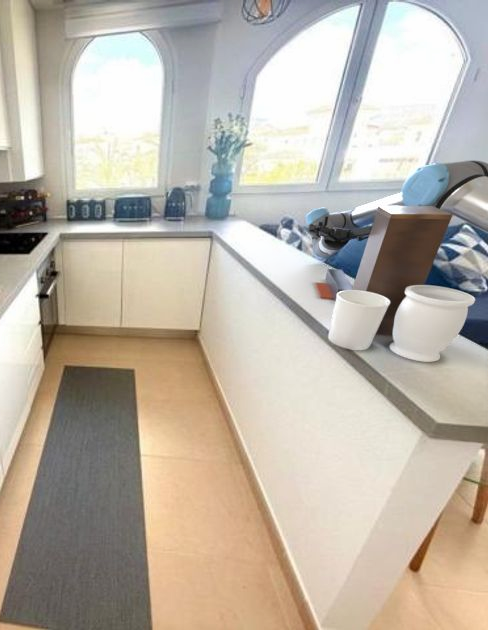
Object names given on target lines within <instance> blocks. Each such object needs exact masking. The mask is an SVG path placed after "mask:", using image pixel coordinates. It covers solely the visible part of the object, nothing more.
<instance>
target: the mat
mask: <svg viewBox="0 0 488 630" xmlns="http://www.w3.org/2000/svg"><path fill="white" fill-rule="evenodd" d="M315 287H316V289H317V293H318V295H319V297H320V299H325V300H326V299H327V300H334V298H333V296H332V294H331V291H330V289H329V287H328V285H327V283H325V282H315Z"/></svg>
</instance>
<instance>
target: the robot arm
mask: <svg viewBox="0 0 488 630" xmlns="http://www.w3.org/2000/svg"><path fill="white" fill-rule="evenodd" d="M400 190H401V192H400V193H396V194H393V195H390V196H387V197H384V198H382V199H379V200H376V201H373V202H370V203H367V204H363V205H361V206H358V207H355V208H352V209H349V210H345V211H339V212H330V211H329V209H328V207H318V208H315V209H313V210H311V211H308V213H306V215H305V221H306V226H307V229H308V230H307V232H308V233H309V235H310V237H311V242H312V245H313V247H312V254H313V256H314V257H315V258H316V259H318V260H328V259H330V258H333V257H334V256H336V254H337V253H338V252H340V251H341V250H342V249H343V248H344V247H345V246H346V245H347V244H348V243H349V242H350V241H353V240H355V239H357V242H362V241H364V240H368V238H369V234H370V231H371V228H372V225H373V222H374V219H375V215H376V212H377V209H378V206H433V207H436V208H438V209H441V210H443V211H445V212H448V213H450V214H453V216H452V218H453V217H456V218H457V219H460V220H462V221H464V222H466V223H467V224H469V225H471V226H473V227H475V228H477V229H479V230H481V231H483V232H484V233H486V234H488V162H486V161H482V160H475V159H474V160H473V159H472V160H463V161H452V162H444V163H442V162H435V163H434V162H433V163H431V164H427V165H426V164H425V165H423V166H421V167H419V168H416V169H415V170H414V171H412V172H411V173H410V174H409V175H408V176H407V178H406V179H405V180H404V182H403V184H402V186H401V189H400ZM368 225H369V226H368Z"/></svg>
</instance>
